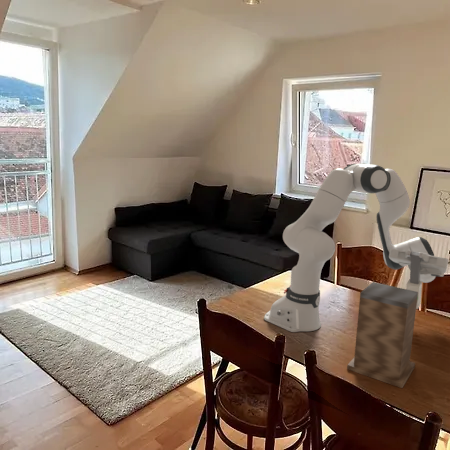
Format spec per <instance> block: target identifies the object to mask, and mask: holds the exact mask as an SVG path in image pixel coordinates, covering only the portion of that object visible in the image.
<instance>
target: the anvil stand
mask: <svg viewBox="0 0 450 450" xmlns="http://www.w3.org/2000/svg"><path fill="white" fill-rule="evenodd" d="M417 297H418V292H416V291H411V290H407V289H406V288H402V287H399V286H398V287H397V286H392V285H389V284H383V283H379V282H376V281H375V282H374V281H372V282H371V283H370V284H369V285H368V286H366V287H365V288H364V289H363V290H361V292H360V295H359V303H358V306H359V307H358V314H357V324H356V325H357V326H356V337H355V347H354V357H353V358H352V359H351V360H350V361H349V363H348V364H347V367H346V369H347V370H349V371H352V372H354V373H357V374H360V375H363V376H366V377H369V378H371V379H375V380H378V381H380V382H383V383H386V384H388V385H389V384H390V385H391V386H395V387H398V388H401V389H403V388H404V386H405V385H406V382H407V381H408V379H409V378H410V377H411V374H412V372H413V371H414V369H415V368H416V362H414V361H411V352H412V344H413V336H414V335H413V334H414V329H415V321H416V312H417V309H416V305H417Z"/></svg>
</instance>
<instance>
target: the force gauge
mask: <svg viewBox="0 0 450 450" xmlns="http://www.w3.org/2000/svg"><path fill="white" fill-rule="evenodd" d="M419 255H420V253H418V252H412V254H411V266H410V269H409V271H410V272H409V280H408V281H407V283H406V288H405V289H407V290H411V291H416V292H418V297H417V305H416V310H419V309H420V305H421V302H422V289H423V288H422V287H423V286H422V285H423V282H422V281H420V271H421V264H420V262H421V259H420V258H419Z"/></svg>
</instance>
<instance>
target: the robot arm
mask: <svg viewBox="0 0 450 450" xmlns="http://www.w3.org/2000/svg"><path fill="white" fill-rule="evenodd" d="M353 191H355V192H358V193H362V194H375V195H376V199H377V200H378V202H379V211H378V212H377V213H376V223H377V229H378V234H379V237H380V238H379V239H380V241H381V246H382V251H383V252H382V255H383V260H384V264H385V265H386V266H387V267H388V268H390V269H392V270H395V271H397V270H400V269H402V268H404V267H408V269H409V270H410V266H411V254H412V252H418V253H420V255H419V258H420V259H421V262H420V264H421V271H420V281H422V283H424V284H425V283H427V284H428V283H431V282H432V281H434V280H435V279H436V277H441V278H442V277H444V276H445V274H446V273H447V269H448V265H449V259H448V258H446V257H441V256H435V253H434V251H433V249H432V247H431V244H430V243H429V241H428V240H427V239H426V238H424V237H421V236H416V237H414V238H413V237H412V238H410V239H408V240H406V241H405V240H404V241H402V242H399V243H396V244H393V243H392V242H393V241H392V239H391V238H392V237H391V232H390V228H391V227H392V225H393V224H394V223H395V222H396V221H397V220H399V219H400V218H401V217H403V216H404V215H405V214H406V212H407V211H408V210H409V207H410V204H411V200H410V195H409V192H408V190H407V189H406V186H405V183H404V181H403V180H402V179H401V177H400V176H399V174H398V173H397V172H396V170H394V169H392V168H385V167H383V166H382V165H378V164H371V163H364V162H363V163H351V164H348V165H346V166H345V167H344V168H334V169H332V170H331V171H330V172H329V173H328V174H327V176H326V177H325V179H324V180H323V182H322V183H321V185H320V187H319V188H318V190H317V192H316V194H315V196H314V198H313V199H312V200H311V203H310V204H309V206H308V208H307V209H306V210H305V212H303V214H302V215H300V217H299V218H298V219H297V220H296V221H294V222H292V223H291V224H289V225H287V226H286V227H285V229H283V233H282V240H283V242H284V245H286V246H287V248H289V249H290V250H291V251H293V252H295V253H296V254H298V255H299V256H298V261H297V264H296V265H294V266H293V267H292V269H291V270H290V272H291V273H290V285H289V287H286V288H285V289H284V290H283V291H284V292H283V293H284V294H285V295H284V296H282V297H280V298H278V299H277V300H276V301H274V302H273V303H272V304H271V307H270V310H269V311H267V312H266V313H265V314H264V317H263V319H264V321H266V322H269V324H272V325H275V326H277V327H278V328H282V329H284V330H286V331H288V332H291V333H298V332H312V331H317V330H318V329H320V328H321V327H322V323H321V319H320V311H319V309H320V308H319V306H320V301H321V290H320V284H321V283H320V282H321V273H322V269H323V267H324V265H325V263H326V262H327V261H329V260H330V259H331V258H332V257H333V255H334V254H335V251H336V243H335V241H334V239H333V238H332V237H331V236H329V235H328V234H327V233H326V232H324V231H323V230H324V229H325V228H326V227H327V226H328V225H331V224H333V223H334V222H335V221H337V219H338V217H339V215H340V213H341V211H342V209H343V208H344V206H345V204H346V202H347V200H348V198H349V197H350V194H352V192H353Z"/></svg>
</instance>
